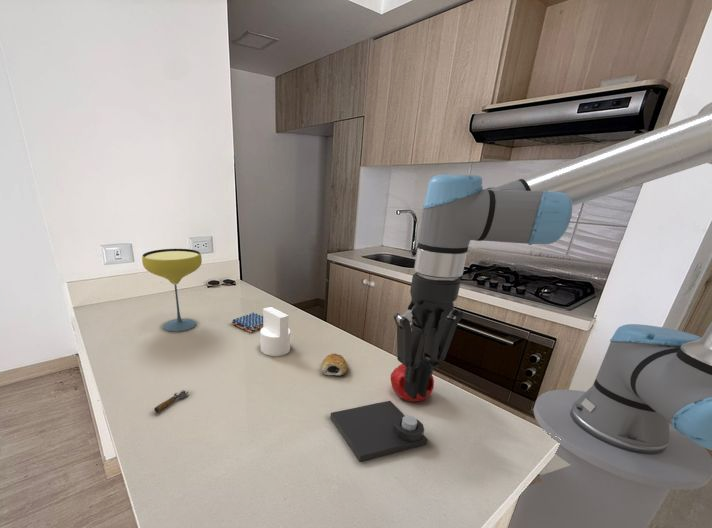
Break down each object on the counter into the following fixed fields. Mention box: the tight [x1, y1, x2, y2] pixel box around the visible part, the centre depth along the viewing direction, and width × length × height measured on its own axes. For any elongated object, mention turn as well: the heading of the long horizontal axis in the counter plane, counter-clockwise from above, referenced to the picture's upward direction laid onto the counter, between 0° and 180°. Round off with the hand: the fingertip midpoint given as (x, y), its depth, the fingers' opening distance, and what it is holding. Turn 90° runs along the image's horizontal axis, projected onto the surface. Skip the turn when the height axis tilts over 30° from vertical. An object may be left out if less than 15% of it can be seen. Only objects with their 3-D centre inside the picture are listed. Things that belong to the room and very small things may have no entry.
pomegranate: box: [390, 363, 435, 402], centre depth 82 cm, size 10×10×9 cm
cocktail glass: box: [141, 248, 203, 333], centre depth 114 cm, size 18×18×25 cm
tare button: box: [401, 415, 418, 431], centre depth 68 cm, size 3×3×2 cm
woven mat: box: [231, 312, 263, 333], centre depth 120 cm, size 10×11×2 cm
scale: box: [329, 400, 429, 463], centre depth 70 cm, size 15×13×3 cm
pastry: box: [320, 353, 348, 377], centre depth 93 cm, size 9×7×4 cm
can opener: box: [154, 390, 189, 413], centre depth 78 cm, size 9×2×1 cm, turn 144°
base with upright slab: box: [259, 306, 291, 357], centre depth 101 cm, size 9×9×12 cm
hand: (414, 393), depth 65 cm, fingers closed
